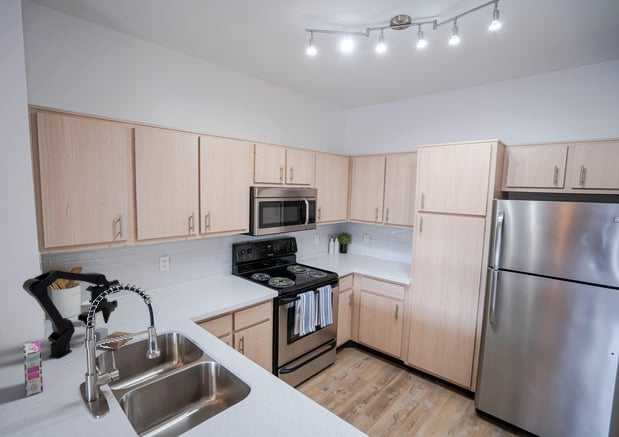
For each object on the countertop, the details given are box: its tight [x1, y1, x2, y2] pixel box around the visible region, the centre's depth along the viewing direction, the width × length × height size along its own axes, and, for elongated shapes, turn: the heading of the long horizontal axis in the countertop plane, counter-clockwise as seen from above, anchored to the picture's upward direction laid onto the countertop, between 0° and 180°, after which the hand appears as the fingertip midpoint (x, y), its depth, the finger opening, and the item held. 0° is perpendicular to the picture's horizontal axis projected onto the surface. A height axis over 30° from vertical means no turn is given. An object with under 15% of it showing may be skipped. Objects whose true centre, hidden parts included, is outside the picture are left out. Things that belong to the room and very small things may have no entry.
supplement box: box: [80, 300, 101, 327], centre depth 175 cm, size 7×7×13 cm
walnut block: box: [98, 331, 134, 351], centre depth 152 cm, size 10×10×4 cm
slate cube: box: [94, 327, 109, 342], centre depth 157 cm, size 5×5×5 cm
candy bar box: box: [23, 340, 44, 398], centre depth 117 cm, size 11×5×16 cm, turn 44°
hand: (99, 326), depth 156 cm, fingers open, 9 cm apart
